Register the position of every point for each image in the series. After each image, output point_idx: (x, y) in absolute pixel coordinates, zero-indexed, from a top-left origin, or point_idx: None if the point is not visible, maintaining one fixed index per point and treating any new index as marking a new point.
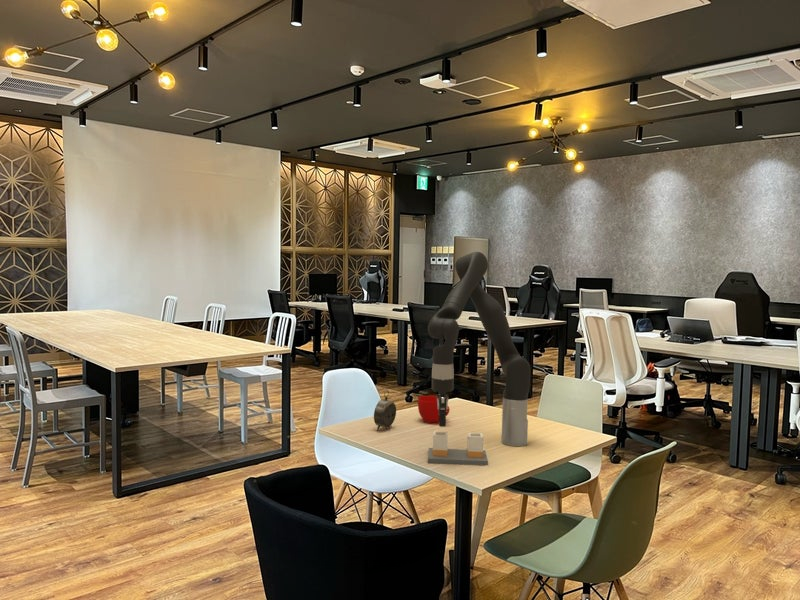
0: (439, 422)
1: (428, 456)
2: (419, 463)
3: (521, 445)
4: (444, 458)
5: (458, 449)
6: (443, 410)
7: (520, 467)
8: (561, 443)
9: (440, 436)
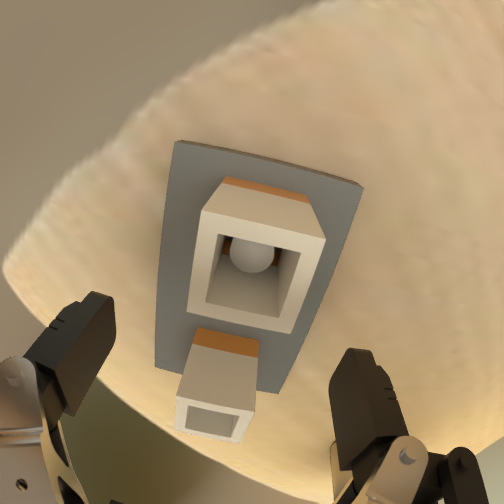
0: (75, 312)
1: (208, 149)
2: (177, 98)
3: (330, 451)
4: (174, 226)
5: (309, 320)
6: (348, 457)
7: (157, 410)
8: (325, 483)
9: (195, 262)
